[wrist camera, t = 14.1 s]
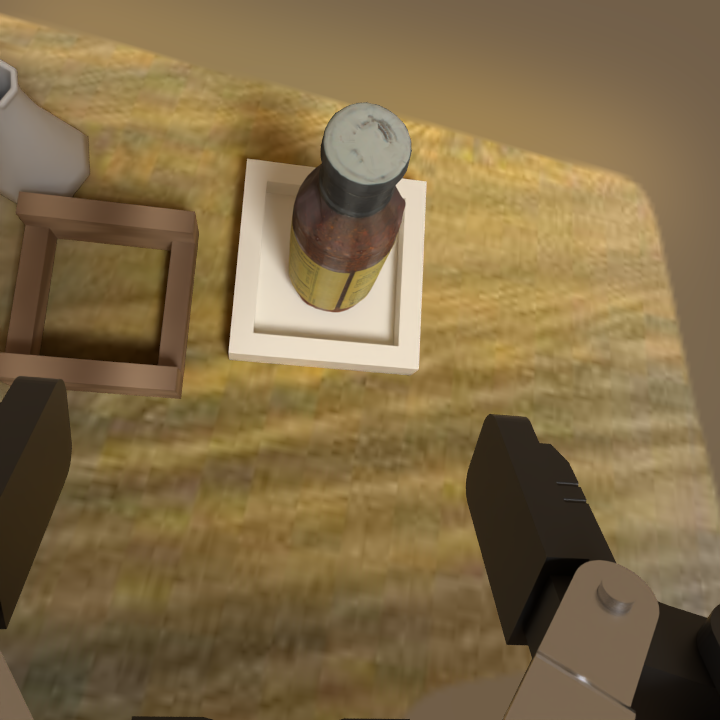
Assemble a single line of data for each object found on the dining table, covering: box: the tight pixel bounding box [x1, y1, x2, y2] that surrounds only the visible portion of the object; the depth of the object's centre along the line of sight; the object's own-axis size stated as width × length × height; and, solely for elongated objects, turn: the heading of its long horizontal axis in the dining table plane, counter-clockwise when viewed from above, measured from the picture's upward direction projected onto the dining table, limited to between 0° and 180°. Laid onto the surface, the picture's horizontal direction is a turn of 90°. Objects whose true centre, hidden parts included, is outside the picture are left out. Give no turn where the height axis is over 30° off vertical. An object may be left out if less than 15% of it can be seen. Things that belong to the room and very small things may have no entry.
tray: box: [229, 159, 426, 375], centre depth 49 cm, size 13×14×2 cm
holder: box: [0, 191, 199, 399], centre depth 45 cm, size 11×12×4 cm
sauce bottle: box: [289, 102, 412, 312], centre depth 40 cm, size 7×6×20 cm
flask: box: [0, 59, 90, 204], centre depth 44 cm, size 7×7×10 cm
